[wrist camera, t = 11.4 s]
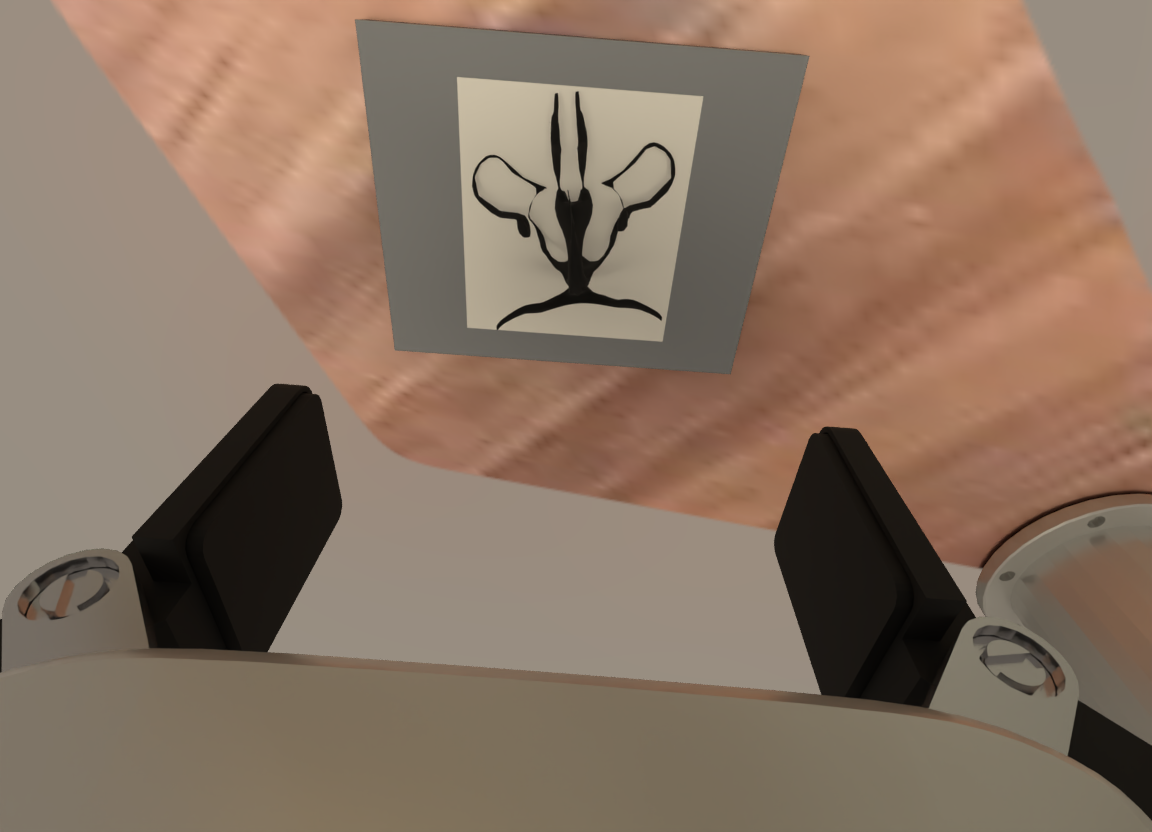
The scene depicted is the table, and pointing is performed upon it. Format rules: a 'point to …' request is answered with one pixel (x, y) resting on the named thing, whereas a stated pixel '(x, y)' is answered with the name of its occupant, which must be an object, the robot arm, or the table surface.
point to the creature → (575, 225)
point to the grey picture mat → (572, 189)
